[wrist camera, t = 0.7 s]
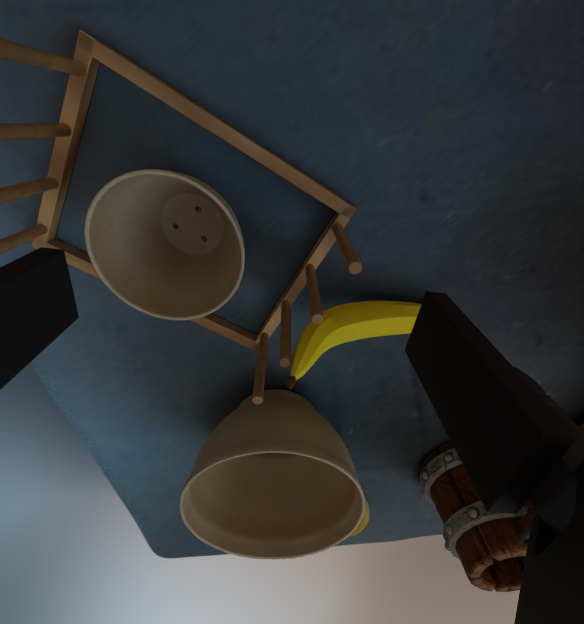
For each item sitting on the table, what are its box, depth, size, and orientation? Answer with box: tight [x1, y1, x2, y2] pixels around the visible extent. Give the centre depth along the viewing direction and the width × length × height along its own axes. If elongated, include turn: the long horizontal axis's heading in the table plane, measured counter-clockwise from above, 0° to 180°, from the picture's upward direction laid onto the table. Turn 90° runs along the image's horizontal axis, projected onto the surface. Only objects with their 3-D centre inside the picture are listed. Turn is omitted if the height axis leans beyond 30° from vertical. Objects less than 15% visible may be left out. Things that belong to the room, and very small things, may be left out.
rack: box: [0, 30, 362, 404], centre depth 23 cm, size 16×21×10 cm
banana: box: [287, 301, 421, 389], centre depth 27 cm, size 3×19×6 cm, turn 84°
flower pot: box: [85, 169, 245, 320], centre depth 24 cm, size 10×10×7 cm
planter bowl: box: [180, 389, 365, 559], centre depth 34 cm, size 16×16×11 cm
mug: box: [420, 442, 538, 592], centre depth 37 cm, size 12×14×15 cm
